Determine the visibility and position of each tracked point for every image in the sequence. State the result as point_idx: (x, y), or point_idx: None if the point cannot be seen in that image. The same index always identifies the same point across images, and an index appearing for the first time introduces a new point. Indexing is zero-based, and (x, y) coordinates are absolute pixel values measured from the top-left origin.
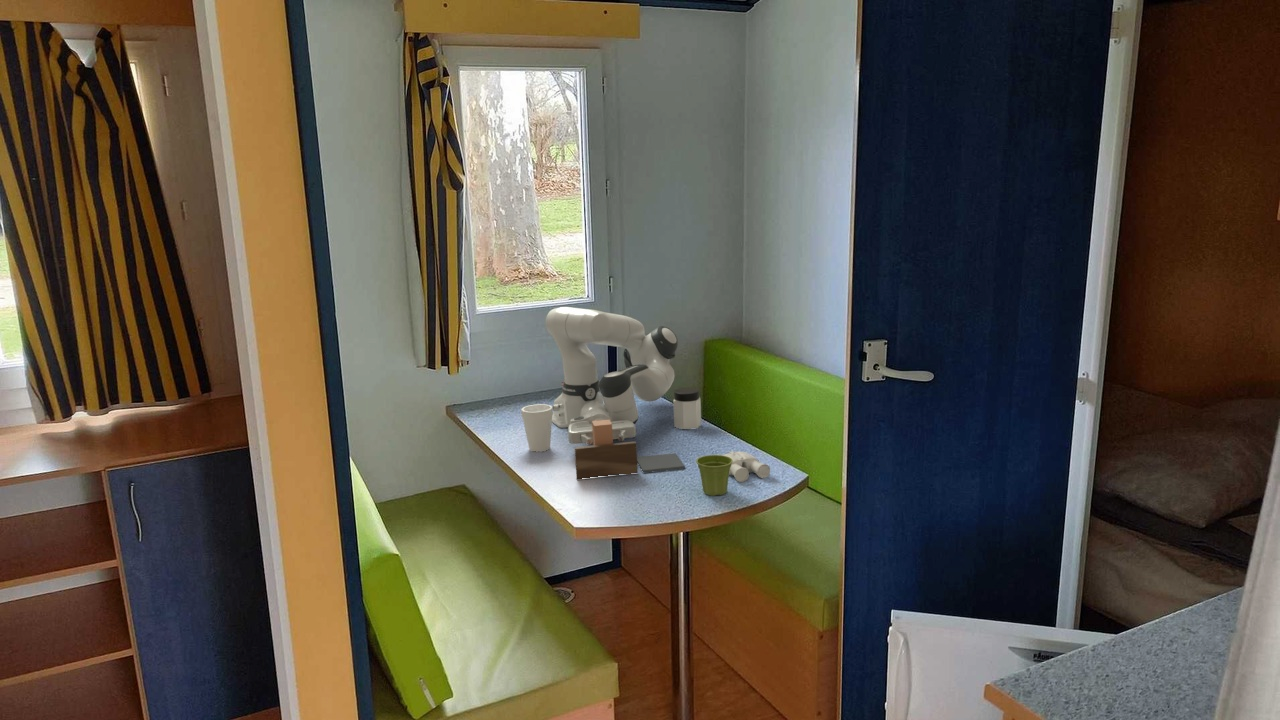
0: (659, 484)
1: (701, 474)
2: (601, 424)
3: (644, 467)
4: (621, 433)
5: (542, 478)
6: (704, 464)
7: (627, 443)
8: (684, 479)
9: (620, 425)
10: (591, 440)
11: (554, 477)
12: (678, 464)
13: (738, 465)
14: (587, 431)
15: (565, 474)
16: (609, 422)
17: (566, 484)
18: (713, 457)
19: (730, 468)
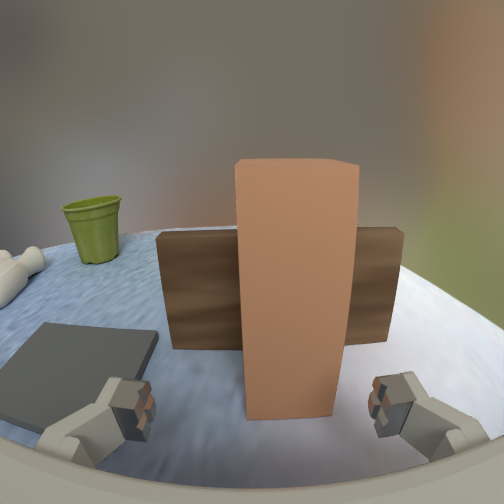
0: (160, 286)
1: (117, 220)
2: (294, 159)
3: (139, 345)
4: (103, 404)
5: (488, 346)
6: (92, 219)
7: (193, 232)
8: (97, 292)
9: (10, 501)
10: (374, 381)
11: (459, 351)
12: (45, 333)
13: (18, 258)
14: (450, 456)
15: (435, 369)
16: (247, 161)
17: (402, 315)
18: (72, 212)
19: (25, 267)
